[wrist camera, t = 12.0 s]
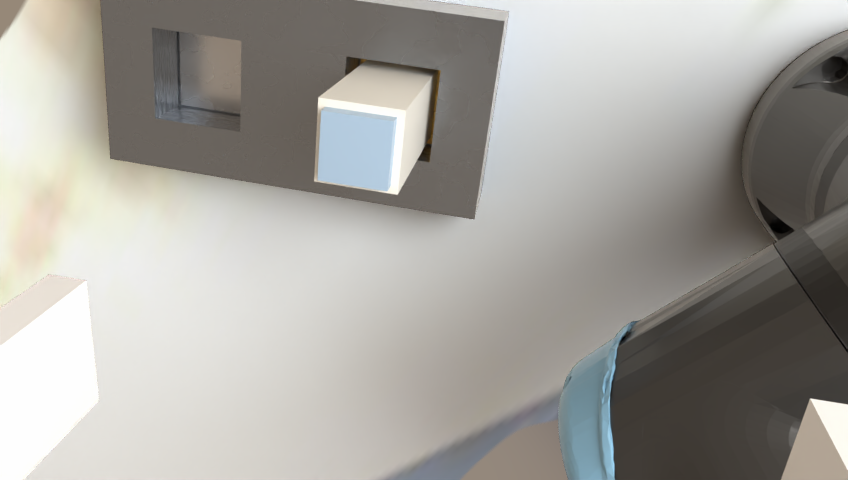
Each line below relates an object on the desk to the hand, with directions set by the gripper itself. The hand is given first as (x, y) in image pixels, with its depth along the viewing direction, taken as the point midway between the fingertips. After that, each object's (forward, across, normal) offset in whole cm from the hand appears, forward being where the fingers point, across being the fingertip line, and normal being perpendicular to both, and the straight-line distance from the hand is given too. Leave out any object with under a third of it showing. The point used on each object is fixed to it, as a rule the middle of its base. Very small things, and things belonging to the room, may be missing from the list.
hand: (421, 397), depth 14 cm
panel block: (+36, +13, +3) cm, 39 cm away
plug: (+35, +7, +3) cm, 36 cm away
